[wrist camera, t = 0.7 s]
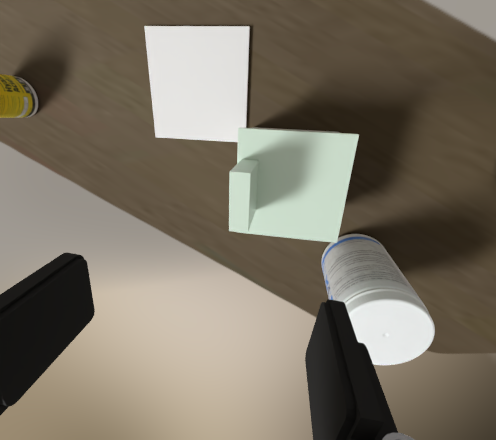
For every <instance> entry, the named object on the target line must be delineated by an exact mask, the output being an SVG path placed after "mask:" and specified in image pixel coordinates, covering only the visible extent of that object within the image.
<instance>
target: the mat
mask: <svg viewBox="0 0 496 440" xmlns="http://www.w3.org/2000/svg"><path fill="white" fill-rule="evenodd" d="M144 27H145V37H146V46H147V56H148V66H149V76H150V86H151V96H152V106H153V116H154V125H155V135H156V137H160V138H177V139H194V140H210V141H227V142H238V128H246V123H247V94H248V66H249V37H250V27H249V26H144Z"/></svg>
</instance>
